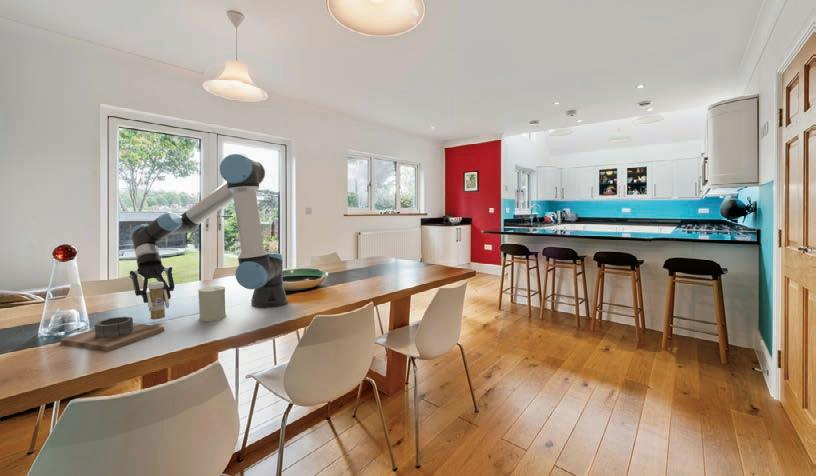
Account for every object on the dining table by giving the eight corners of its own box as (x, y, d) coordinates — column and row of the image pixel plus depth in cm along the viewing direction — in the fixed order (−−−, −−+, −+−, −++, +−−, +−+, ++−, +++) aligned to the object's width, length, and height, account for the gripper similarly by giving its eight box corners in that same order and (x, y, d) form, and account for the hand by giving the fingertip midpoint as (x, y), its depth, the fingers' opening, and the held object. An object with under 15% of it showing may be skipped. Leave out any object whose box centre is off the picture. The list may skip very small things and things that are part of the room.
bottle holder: (164, 331, 120) (163, 315, 119) (107, 351, 103) (106, 333, 102) (121, 325, 125) (120, 310, 124) (60, 344, 108) (59, 326, 107)
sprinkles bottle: (155, 320, 125) (153, 284, 124) (147, 319, 127) (145, 283, 126) (168, 316, 129) (166, 281, 128) (160, 315, 131) (158, 280, 130)
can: (214, 322, 130) (213, 291, 129) (193, 320, 132) (192, 289, 131) (231, 314, 139) (230, 285, 138) (211, 313, 141) (210, 284, 140)
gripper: (173, 261, 143) (185, 308, 133) (119, 266, 131) (128, 318, 121) (175, 250, 139) (188, 297, 129) (120, 254, 127) (129, 306, 117)
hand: (159, 307), depth 125 cm, fingers closed on sprinkles bottle, 4 cm apart
